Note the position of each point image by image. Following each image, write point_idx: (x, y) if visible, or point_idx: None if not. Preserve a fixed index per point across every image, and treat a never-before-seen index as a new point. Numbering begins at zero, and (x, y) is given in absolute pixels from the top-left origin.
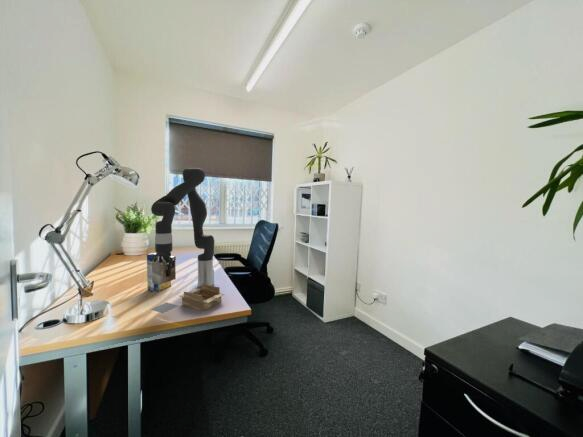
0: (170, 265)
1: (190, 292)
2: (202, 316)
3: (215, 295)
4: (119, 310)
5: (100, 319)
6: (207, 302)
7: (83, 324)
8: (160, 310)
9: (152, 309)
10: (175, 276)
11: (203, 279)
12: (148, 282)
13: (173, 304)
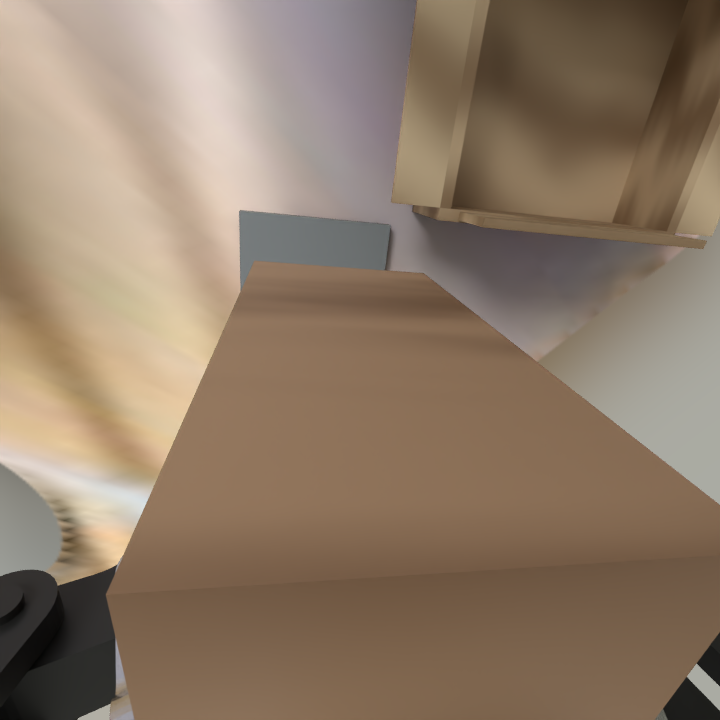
0: (700, 714)
1: (442, 67)
2: (627, 281)
3: None
4: (42, 427)
5: (92, 522)
6: (707, 232)
7: (82, 572)
8: None
9: None
10: (437, 285)
11: None
12: None
13: (334, 224)
